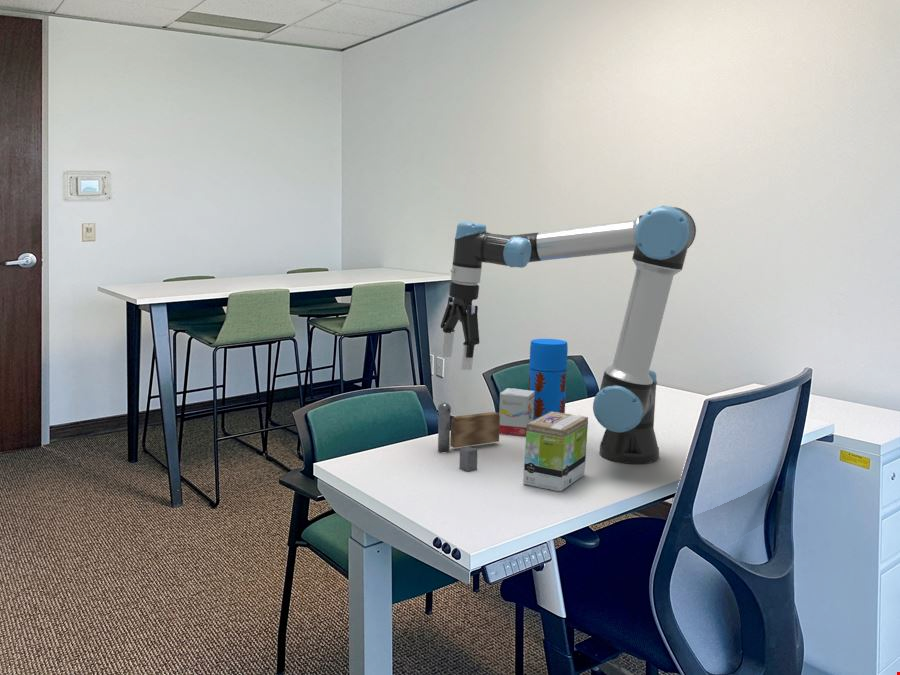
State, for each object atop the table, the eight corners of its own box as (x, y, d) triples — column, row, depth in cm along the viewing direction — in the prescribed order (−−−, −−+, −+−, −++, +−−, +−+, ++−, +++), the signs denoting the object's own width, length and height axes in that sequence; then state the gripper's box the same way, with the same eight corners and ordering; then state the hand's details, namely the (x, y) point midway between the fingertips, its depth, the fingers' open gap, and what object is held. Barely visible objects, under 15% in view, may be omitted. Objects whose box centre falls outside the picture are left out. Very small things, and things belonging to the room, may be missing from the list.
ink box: (527, 437, 228) (528, 395, 226) (497, 433, 231) (498, 392, 229) (533, 429, 236) (535, 389, 234) (505, 426, 239) (506, 386, 237)
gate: (454, 448, 213) (454, 419, 212) (450, 445, 215) (450, 417, 213) (499, 441, 220) (500, 413, 218) (494, 439, 222) (495, 411, 220)
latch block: (476, 469, 198) (477, 449, 198) (467, 471, 196) (468, 451, 196) (468, 466, 201) (469, 446, 200) (459, 468, 199) (460, 448, 198)
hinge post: (452, 451, 212) (453, 403, 210) (442, 453, 210) (443, 405, 208) (444, 448, 215) (445, 400, 213) (434, 450, 213) (435, 402, 211)
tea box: (562, 493, 183) (565, 429, 181) (522, 485, 188) (524, 422, 186) (586, 475, 196) (589, 415, 194) (547, 467, 201) (549, 409, 199)
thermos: (554, 431, 233) (557, 345, 230) (521, 425, 239) (524, 341, 235) (570, 424, 242) (573, 341, 239) (537, 418, 248) (541, 337, 244)
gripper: (434, 274, 219) (425, 351, 223) (471, 290, 197) (461, 375, 201) (459, 276, 222) (451, 351, 226) (499, 291, 200) (488, 375, 204)
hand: (455, 362), depth 214 cm, fingers open, 13 cm apart
